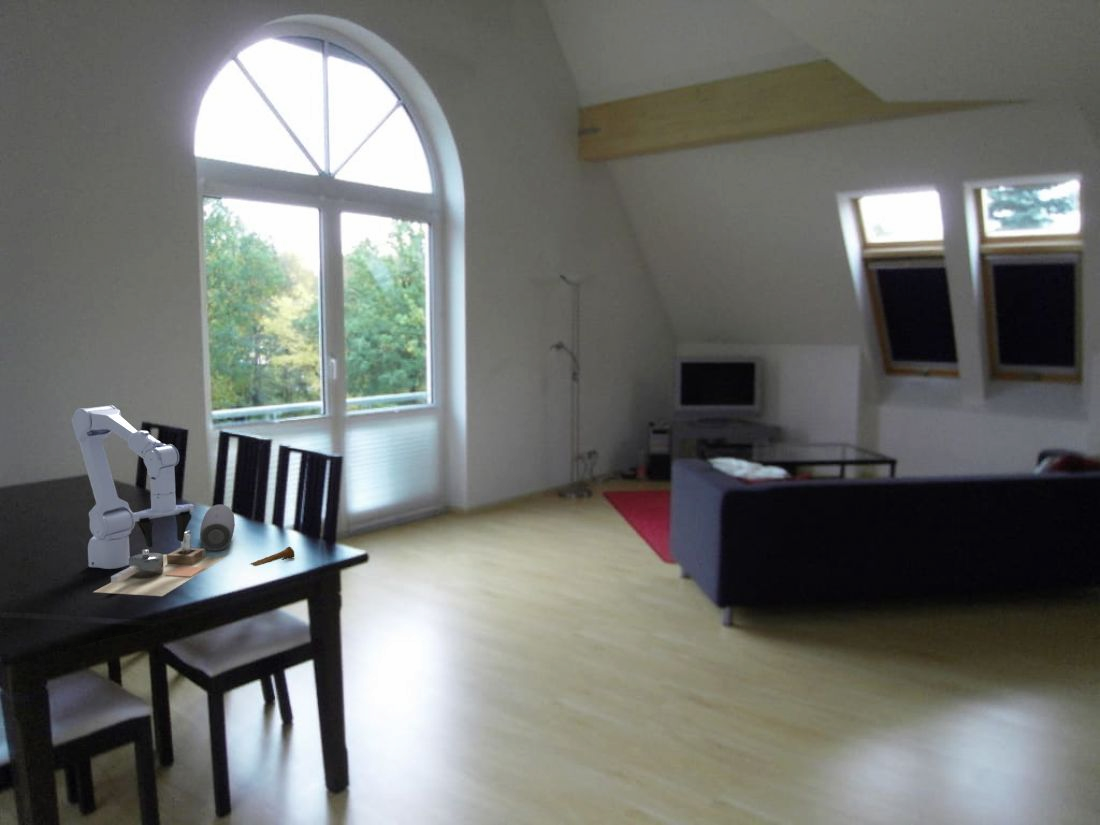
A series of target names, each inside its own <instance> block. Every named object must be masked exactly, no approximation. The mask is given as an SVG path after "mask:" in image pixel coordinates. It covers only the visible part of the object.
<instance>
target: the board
mask: <svg viewBox="0 0 1100 825" xmlns="http://www.w3.org/2000/svg"><path fill="white" fill-rule="evenodd" d="M162 555H163V568H164V571H163V572H162V573H160V574H158V575H155V576H151V577H141V578H138V577H132V576H130V577H128V578H126V579H124V580H123V581H121V582H119V583H111V582H110V583H107V584H106V585H103V586H102V587H100V588H98V589H96V590H94V591H93V593H100V594H116V595H117V594H120V595H133V596H134V595H135V596H147V597H148V596H151V597H164V596H165V595H167V594H169V593H170V592H172V591H173V590H175V589H176V588H177V589H178V588H179V587H180V586H181V585H184V584H185V583H186V582H188V581H190V580H191V579H192V578H195V577H196V576H198V575H200V574H201V573H203V572H204V571H206V570H208V569H209V568H211V567H213V566H214V565H216V564H218V563H219V562H221V561H223V560H224V559H225V557H218V556H205V558H203V559H202V560H200V561H198V562H196V563H195V564H193V565H177V564H167V555H168V554H165V553H164V554H162ZM180 566H186V567H204V568H205V569H204V570H202V571H201V572H199V573H197V574H196V575H194V576H192V577H175V576H165V575H166V574H168V573H170V572H171V571H173V570H175V569H177V568H178V567H180Z"/></svg>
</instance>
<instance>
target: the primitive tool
mask: <svg viewBox="0 0 1100 825" xmlns="http://www.w3.org/2000/svg"><path fill="white" fill-rule="evenodd" d="M290 557H291V558H290ZM292 557H294V558H295V551H294V549H293V548H292V547H291V546H287V547H286V548H285V549H284V550H281V551H278V552H277V553H274V554H272V555H269V556H266V557H264V558H261V559H259V560H256V561H253V562H251V563H250V565H251V566H253V567H257V566H262V565H264V564H267V563H271V562H273V561H277V560H279V559H280V560H282V561H284V559H285V560H287V559H293V558H292Z"/></svg>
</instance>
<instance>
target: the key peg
mask: <svg viewBox="0 0 1100 825" xmlns="http://www.w3.org/2000/svg"><path fill="white" fill-rule="evenodd" d="M191 534H192V532H191V530H186V531H185V534H184V539H183V541H181V542H180V545H181V546H180V548H181V553H182V554H190V553H191V548H192V545H191V544H192V542H191V540H192V539H191Z"/></svg>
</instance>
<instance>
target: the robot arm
mask: <svg viewBox="0 0 1100 825" xmlns="http://www.w3.org/2000/svg"><path fill="white" fill-rule="evenodd" d="M121 412H122V411H121V410H120V409H118V408H117V407H116V406H114V405H113V404H108V405H105V406H95V407H87V408H83V407H81V408H77V409H76V410H75V411H74V414H72V418H71V419H70V420H71V425H72V428H73V431H74V435H75V438H76V441H77V442H78V444H79V447H80V451H81V454H82V458H83V462H84V464H85V469H86V473H87V476H88V479H89V483H90V486H91V489H92V494H93V497H94V500H95V505H94V506H93V507H92V509H90V511H89V512H88V518H89V530H90V532H91V534H92V537H91V538H89V541H88V545H87V560H88V567H89V568H98V569H99V568H100V569H106V570H107V569H108V570H111V569H113V570H114V569H120V568H124V567H126V566H129V558H130V557H131V556H130V555H131V554H130V539H129V538H130V537H129V535H130V534H132V530H133V529H134V528H135V527H136V524H137V525H138V527H139V528H140V530H141V532H142V534H143V537H144V539H145V540H144V541H145V543H146V546H147V547H148V548H152V547H153V525H154V524H153V522H152V521H151V519H156V518H162V517H168V516H174V517H175V520H176V534H177V535H176V538H177V541H179V542H180V543H181V541H183V539H184V534H185V532H186V531H187V527H188V526H189V523H190V521H191V519H192V514H191V513H194V512H195V505H194V504H192V503H189V504H186V503H185V504H177V502H176V501H177V500H176V499H177V498H176V497H177V496H176V476H175V474H176V473H175V467H176V466H177V465H178V464H179V462H180V453H179V450H178V448H177V447H175V445H173V444H171V443H169V444H166V443H162V442H161V441H160V440H158V439H156V438H155V437H154V436H152V435H151V434H150V432H149V431H148V430H137V429H136V428H135V427H133V426H132V425H131V424H130V423H129V422H128V421H127V420H125V418H123V417H122V413H121ZM112 433H113V434H115V435H117V436H119V437H120V438H121V439H123V440H125V441H127V447H128V449H130V450H131V451H132V452H134V453H135V454H136V455H137V456H139V457H140V458H141V459H143V463H144V465H145V467H146V469H147V471H146V472H147V475H148V477H149V483H150V485H149V486H150V506H151V507H150V508H147V509H144V510H140V511H136V512H133V510H132V509H131V508H130V506H129V503H128V502H127V501H126V500H123V499H121V498H119V496H118V492H117V489H116V485H115V482H114V479H113V475H112V471H111V468H110V464H109V461H108V458H107V457H108V456H107V454H106V451H105V447H104V441H105V439H106V438H107V437H109V436H110V435H111V434H112Z"/></svg>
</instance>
